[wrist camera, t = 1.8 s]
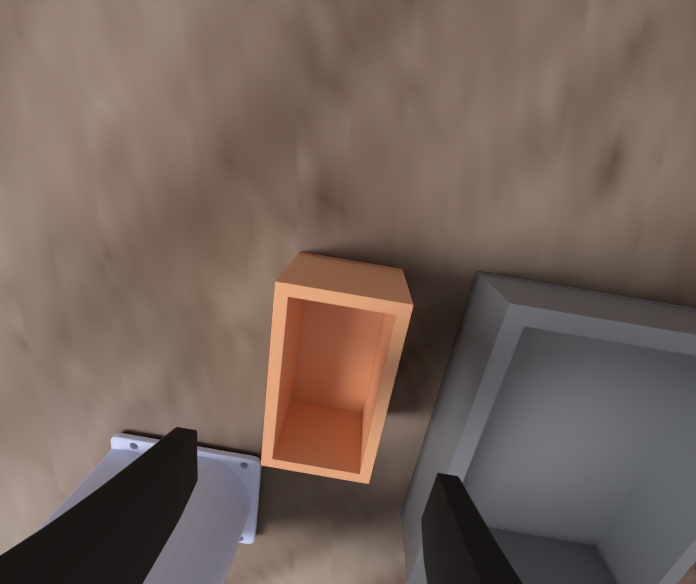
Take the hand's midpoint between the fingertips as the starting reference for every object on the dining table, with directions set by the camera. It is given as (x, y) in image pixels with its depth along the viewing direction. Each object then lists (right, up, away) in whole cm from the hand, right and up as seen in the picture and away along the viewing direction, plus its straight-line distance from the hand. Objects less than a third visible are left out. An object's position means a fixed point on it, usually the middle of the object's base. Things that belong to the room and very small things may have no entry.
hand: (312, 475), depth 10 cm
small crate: (0, +3, +8) cm, 8 cm away
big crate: (+12, -2, +9) cm, 15 cm away
